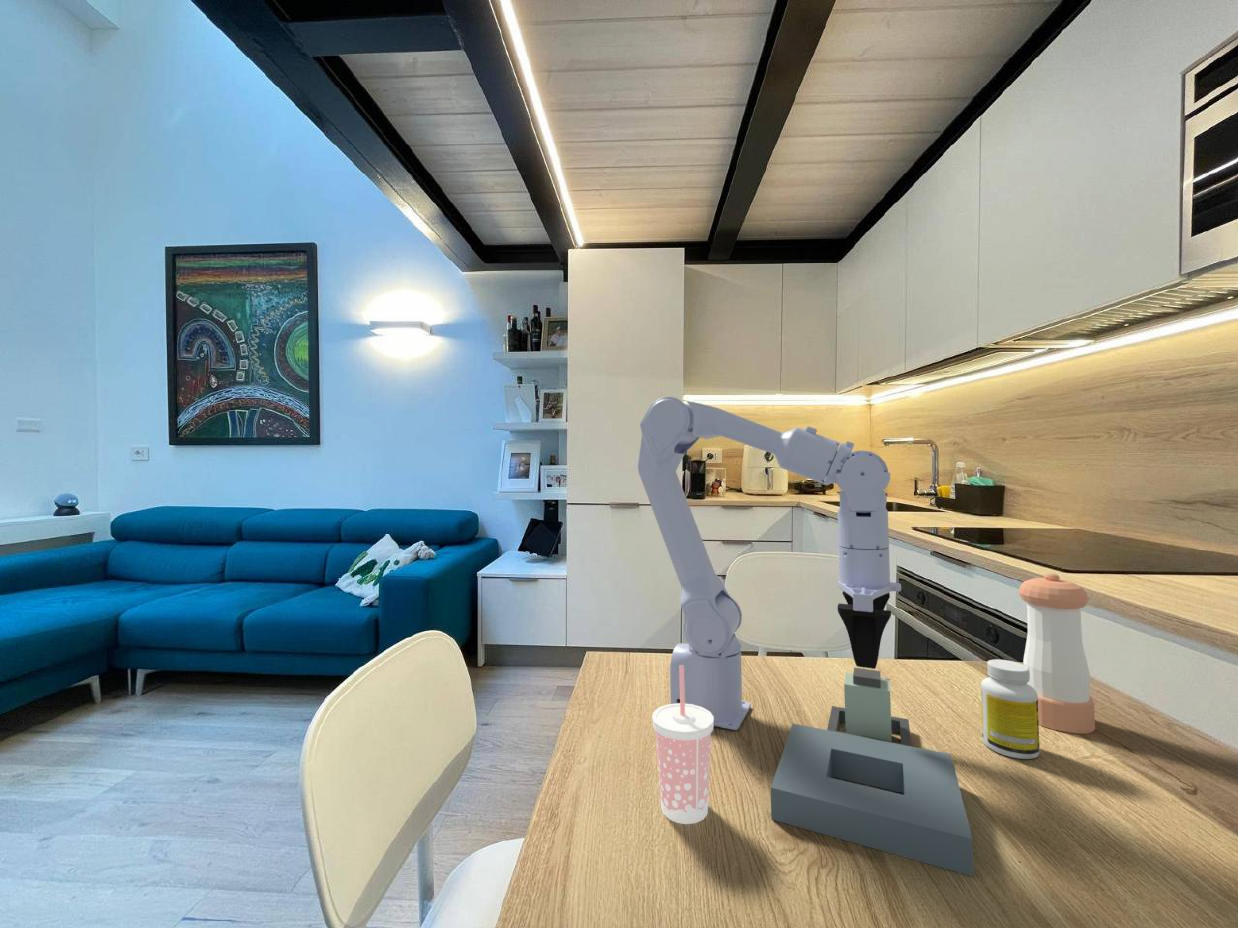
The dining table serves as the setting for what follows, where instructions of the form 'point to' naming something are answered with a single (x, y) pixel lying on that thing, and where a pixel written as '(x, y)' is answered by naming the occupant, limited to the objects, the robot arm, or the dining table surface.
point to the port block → (874, 796)
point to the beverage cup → (683, 758)
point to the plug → (867, 704)
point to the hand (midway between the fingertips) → (866, 656)
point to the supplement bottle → (1010, 710)
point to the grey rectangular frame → (896, 726)
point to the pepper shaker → (1058, 653)
